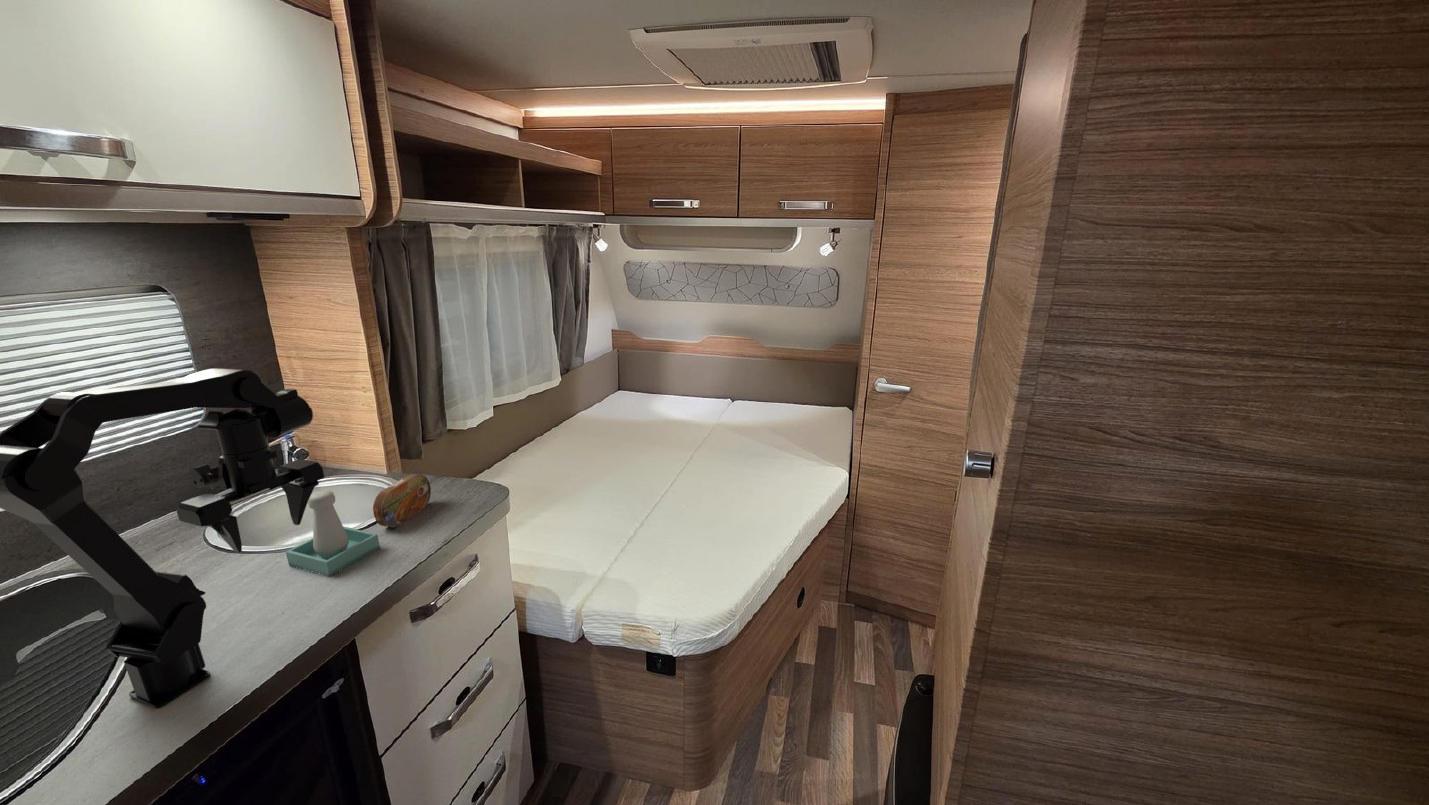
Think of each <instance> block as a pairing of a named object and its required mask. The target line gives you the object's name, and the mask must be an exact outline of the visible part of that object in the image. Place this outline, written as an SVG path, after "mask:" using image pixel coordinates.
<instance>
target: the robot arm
mask: <svg viewBox="0 0 1429 805" xmlns="http://www.w3.org/2000/svg"><path fill="white" fill-rule="evenodd" d="M194 408H199V409H200V408H207V409H209V408H210V409H212V408H214V409H231V410H228V411H225V412H222V411H214V410H209V411H208V412H207V414H206V416H205V417H204V418H202V420H200V422H199V423H198V425H197V428H198V429H199V430H211V431H212V430H213V431H216V435H217V440H218V442H219V446H220V449H221V454H222V455H221V456H219V457H218V459H217V462H218V466H215V467H213V468H212V467H211V466H210V465H209V464H206V463H205V464H202V465H199V466H196V467H194V468H191V469H189V471H190V478H191V481H192V483H193V484H194V486H195V487H196V488H198V489H200V488H203V487H207V486H210V488H211V490H215V489H217V488H220V487H221V490H225V491H226V490H229V489H231V490H232V491H230V492H227V493H225V494H223V495H217V494H212V493H208V492H205V493H203V494H201V495H198V496H195V497H191V498H189V499H187V500H184V501H182V502H180V503H179V505H178V507H177V509H176V514H177V517H178V520H179V522H182V523H186V524H189V525H195V526H197V527H203V528H204V527H209V528H211V529H212V530H214V531H215V532H217V534H218V535H219V536H220V537H221V538H222V540H223V541H225V543H227V545H228V546H229V547H230V548H231V549H232V550H233V551H234V553H238V554H240V553H242V552H243V551H242V550H243V549H242V548H243V547H242V546H243V545H242V544H243V543H242V538H241V534H240V529H239V528H240V527H239V524H238V519H237V516H235V515H231V514H232V512H233V508H232V506H234V505H237V504H239V503H242V502H244V501H247V500H249V499H252V498H254V497H257V496H260V495H261V494H263V493H267V492H269V491H272V490H274V489H276V488H280V487H281V489H282V490H283V491H284V493H285V495H286V501H287V504H288V509H289V514H290V518H291V520H292V523H293V525H296V526H299V525H301V522H302V520H303V516H304V514H305V510H306V507H307V506H308V500H309V498H310V496H311V494H313V493H314V489H315V488H316V487H317V486H319V485H320V482H319V480H323V479H324V478H326V473H325V468H324V467H323V465H322V464H321V463H319V462H317V461H312V460H308V459H303V458H298V459H295V460H293V461H291V462H287V463H285V464H282V465H279V467H278V469H277V473H276V468H275V465H274V461H273V459H275V458H278V454H277V452H276V451H277V450H272V449H271V448H270V445H269V441H268V437H270V438H278V437H281V436H283V435H285V434H289V433H291V432H294V431H297V430H300V429H302V428H305V427H307V426H308V425H311V423H312V421H313V418H314V411H313V409H312V407H310V405H309V404H308V402H307V401H306V400H305V399H304V398H303V397H301V396H299V394H298V389H294V388H285V389H281V390H279V391H278V392H276V393H275V392H274V391H272V390H271V389H270V388H269V387H268V386H266V385H265V384H264V383H263V382H262V380H261V378H260V377H259V375H257V373H255V371H253V370H250V369H234V368H216V367H213V368H212V367H211V368H207V369H204V370H200V371H197V372H193V373H190V374H188V375H186V376H183V377H182V378H180V379H175V380H172V381H164V382H158V383H157V382H156V383H149V384H148V383H147V384H140V385H139V384H138V385H131V386H123V387H121V386H120V387H114V388H105V389H96V390H89V391H87V390H86V391H80V392H69V391H64V392H63V391H62V392H57V393H55V394H53V395H50V396H48V398H46V399H44V401H42V402H41V404H39V405H38V407H36V408H35V409H34V410H33V411H32V412H31V413H29V414H28V415H26V416H25V417H23V418H22V419H20V420H18V421H16V422H15V423H13V424H12V425H11V426H10V425H9V427H7V428H5V429H4V430H2V431H1V432H0V509H2V510H3V511H6V512H8V513H11V514H13V515H16V516H18V517H20V518H23V519H24V520H27V521H29V522H30V523H32V524H34V526H36V528H38V529H39V530H40V531H41V532H42V533H43V534H44V535H45V536H46V537H47V538H49V539H50V540H51V541H52V542H53V543H54V544H55V545H57V546H58V547H59V548H60V549H61V550H62V551H63V552H64V553H65V554H67V555H68V556H69V557H70V558H71V560H74V562H75V563H76V564H78V565H79V566H80V567H81V569H83V570H84V571H85V572H87V574H89V575H90V576H91V577H92V578H93V579H94V580H95V581H96V582H97V583H99V585H101V586H102V587H103V588H104V589H105V590H107V592H109V593H110V595H111V597H113V611H114V613H115V615H117V617H118V619H119V620H120V622H119V624H117V625H118V626H117V628H116V629H115V631H114V632H113V635H112V636H111V638H110V639H109V640H108V643H107V644H106V646H105V649H106V651H108V652H109V653H110V654H111V655H113V656H114V657H116V658H120V657H121V658H122V657H123V658H127V659H125V660H124V661H123V664H124V667H125V668H126V672H127V675H128V678H129V681H130V683H131V685H132V688H133V689H132V690H131V691H129V693H128V696H129V697H130V698H132V699H134V700H137V701H139V702H141V703H144V704H145V705H148V706H150V707H152V708H154V709H157V708H161V707H163V706H165V705H166V704H168V703H169V702H171V701H172V700H174V699H176V698H177V697H179V696H181V695H182V694H184V693H186V692H187V691H188V690H190V689H191V688H193V687H195V686H196V685H198V684H200V683H201V682H203V681H205V680H206V679H208V678H210V677H211V672H210V671H209V670H207V669H205V667H206V662H205V659H204V657H203V656H204V655H203V653H202V650H201V645H200V643H201V641H202V634H203V633H202V630H203V622H204V615H205V610H207V602H206V601H205V599H204V597H203V596H204V595H205V594H206V591H203V590H200V589H199V588H197V586H196V585H195V583H194V582H193V580H192V579H191V577H189V576H188V575H187V574H180V573H173V572H166V571H164V572H163V571H157V570H154V569H153V568H152V566H150V565H149V564H148V562H146V561H145V559H143V557H141V556H140V555H139V554H138V553H137V552H136V551H135V550H134V548H133V547H132V546H130V544H128V543H127V542H126V541H125V540H124V538H123V537H121V536H120V535H119V533H118V532H117V531H116V530H115V529H114V528H112V527H111V526H110V524H108V523H107V522H106V521H105V520H104V519H103V518H102V517H101V516H100V515H99V514H98V513H97V512H96V511H95V510H94V509H93V508H92V507H91V505H89V504H88V502H87V501H86V499H85V492H84V482H83V480H82V478H81V475H79V473H78V472H77V470H76V468H77V466H78V465H79V464H80V463H81V462H82V461H83V460H84V459H85V457H86V456H87V455H88V454H89V452H90V449H91V446H92V442H93V439H94V437H95V434H96V431H97V430H98V429H99V428H100V427H101V425H103V423H109V422H115V421H121V420H122V421H123V420H127V419H133V418H140V417H146V416H152V415H153V416H154V415H158V414H164V413H170V412H176V411H183V410H189V409H194ZM247 408H250V409H248V410H245V409H247ZM43 445H44V447H42V446H43ZM41 447H42V448H41Z"/></svg>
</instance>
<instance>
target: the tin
mask: <svg viewBox="0 0 1429 805" xmlns="http://www.w3.org/2000/svg"><path fill="white" fill-rule="evenodd" d="M431 491H432V487H431V484H430V481H429V479H428V478H427V477H426V476H425V475H423V474H410V475H406V476H404V477H402V478H401V479H399V480H398V481H396V482H394V483H392V484H391V485H389V486H388V487H386V488H384V489H382V490H381V491H380V492H379V493H378V494H377V496H376V497H375V499H374V501H373V505H372V510H373V511H372V512H373V516H374V519H375V522H376V523H377V524H378V525H380V526H382V527H389V528H399V527H401V526H402V525H403V524H404V523H406V522H407V521H409V520H410V519H412V518H413V517H414V516H416V515H417V514H419V513H420V512H421V511H423V510H424V509H425V508H426V507H427V506H428V504H429V501H430V498H431V495H432V492H431Z"/></svg>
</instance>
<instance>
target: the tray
mask: <svg viewBox="0 0 1429 805" xmlns="http://www.w3.org/2000/svg"><path fill="white" fill-rule="evenodd" d="M343 527H344V529H345V532H346V534H347V536H348V538H349V544H348V546H347V549H346V550H345V551H343V552H341V553H339V554H337V555H336V556H334V557H332V558H330V559H328V560H325V559H323V558H321V557H320V556H319V555H318V554H317V553H316V552H315V550H314V547H313V538H310V539H309V540H306V541H305V542H303V543H300V544H298V545H296V546H294V547H292V548H290V549H288V550H286V551H285V556H286V559H287V562H288V566H289V565H290V566H289V567H292V566H293V568H296V567H297V568H296V569H299V568H301V569H300V570H303V569H306V570H305V571H307V570H309V571H308V572H310V571H313V572H312V573H314V572H316V573H315V574H317V573H320V574H319V575H321V574H323V575H322V576H325V575H326V577H328V576H330V577H332V576H333V574H334V575H335V574H337V573H339V572H340V571H339V570H341V569H342V570H344V569H346V568H348V567H349V566H351V565H353V564H355V563H356V562H358V561H360V560H361V559H363V558H365V557H367V556H368V555H370V554H371V553H373V552H375V551H377V550H378V549H381V545H380V541H379V535H378V533H373V532H370V531H365V530H361V529H356V528H352V527H347V526H344V525H343ZM357 560H358V561H357ZM342 570H341V571H342ZM338 571H339V572H338ZM336 572H337V573H336ZM331 575H332V576H331Z"/></svg>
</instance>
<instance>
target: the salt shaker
mask: <svg viewBox="0 0 1429 805" xmlns="http://www.w3.org/2000/svg"><path fill="white" fill-rule="evenodd" d="M335 502H336V496H335V494H334V492H333V491H331V490H319V491H317V492H312V494H311V496H310V498H309V500H308V503H307V506H308V507H309V509H312V536H313V547H314V550H315V552H316V553H317V554H318V555H319V556H320V557H321V558H323V559H325V560H328V559H330V558H332V557H334V556H336V555H337V554H339V553H341V552H343V551H345V550H346V549H347V546H348V544H349V538H348V536H347V534H346V532H345V529H344V527H345V526H344V525H343V524H342V520H341V519H340V517H339V515H338V513H337V510H336V509H335V506H334V504H335ZM343 526H344V527H343Z"/></svg>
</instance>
